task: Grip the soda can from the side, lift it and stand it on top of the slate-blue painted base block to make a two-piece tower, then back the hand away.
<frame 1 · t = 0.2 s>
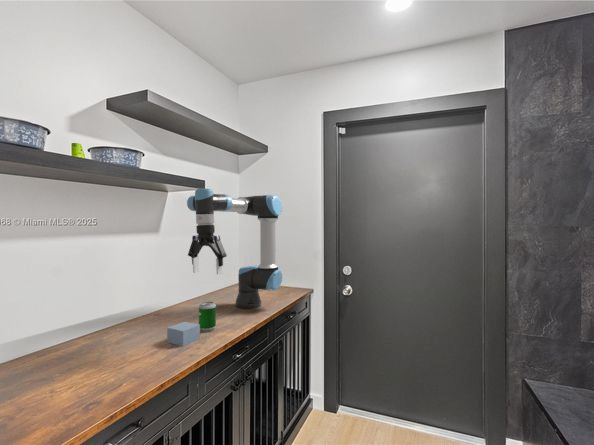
hand: (207, 273, 138), 27 cm above the worktop, tool pointing down, fingers open, 13 cm apart
soda can: (207, 329, 145), on the worktop
base block: (183, 340, 131), on the worktop
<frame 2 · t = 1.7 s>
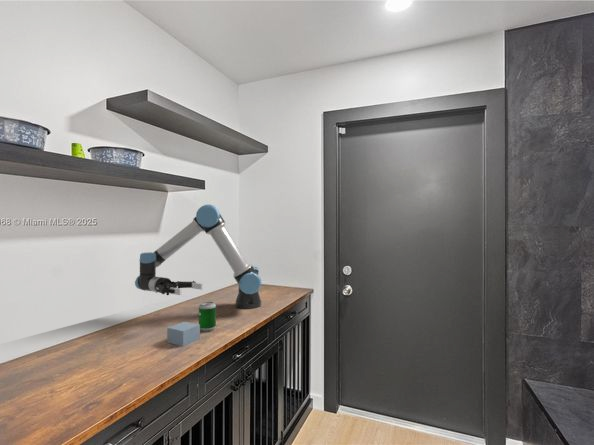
hand: (191, 289, 149), 18 cm above the worktop, tool horizontal, fingers open, 13 cm apart
nothing on the worktop moved.
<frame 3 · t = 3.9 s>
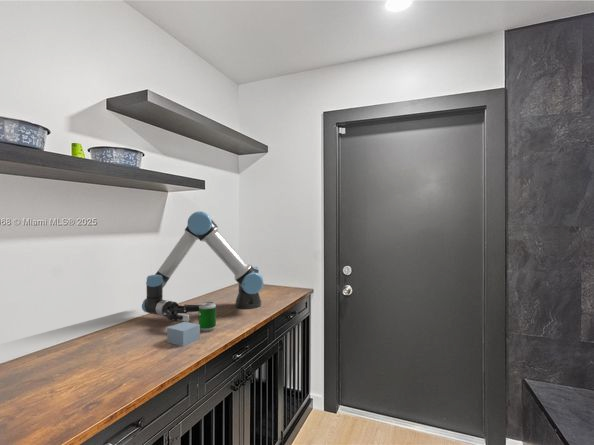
hand: (199, 314, 146), 6 cm above the worktop, tool horizontal, fingers open, 13 cm apart
nothing on the worktop moved.
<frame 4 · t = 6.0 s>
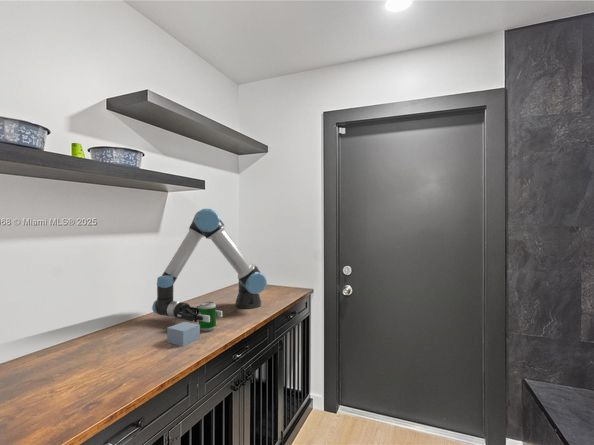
hand: (215, 316, 143), 7 cm above the worktop, tool horizontal, fingers closed on soda can, 7 cm apart
soda can: (207, 329, 145), on the worktop, touching gripper
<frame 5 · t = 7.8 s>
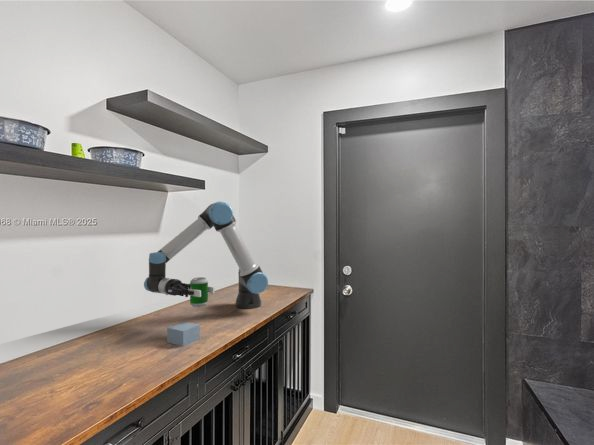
hand: (207, 291, 139), 19 cm above the worktop, tool horizontal, fingers closed on soda can, 7 cm apart
soda can: (199, 305, 141), point 12 cm above the worktop, touching gripper
when the fingers open (14 cm above the worktop, at t = 9.5 s): soda can drops 1 cm, resting on base block.
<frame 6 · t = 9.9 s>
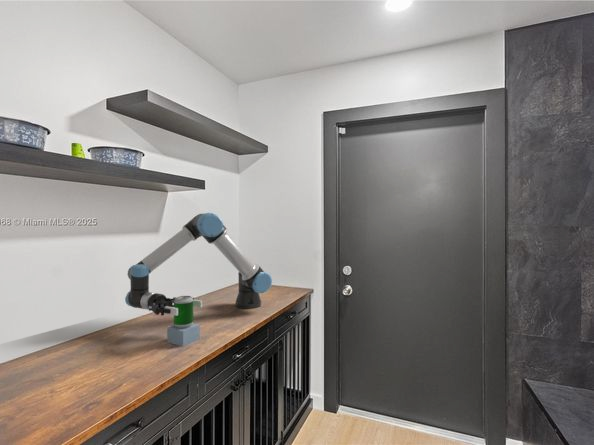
hand: (190, 308, 129), 14 cm above the worktop, tool horizontal, fingers open, 12 cm apart
soda can: (183, 326, 131), point 6 cm above the worktop, touching base block
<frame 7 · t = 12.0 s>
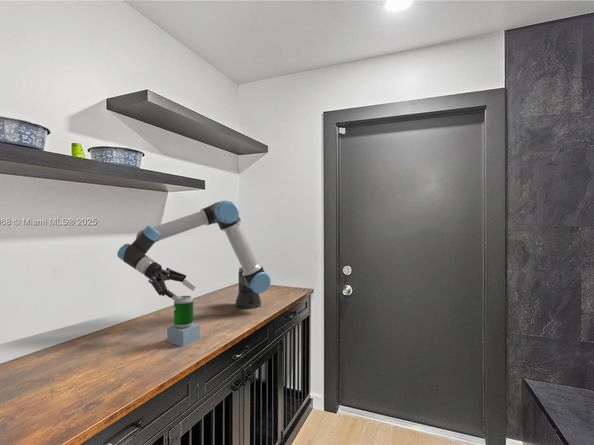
hand: (187, 294, 143), 17 cm above the worktop, tool tilted 55°, fingers open, 13 cm apart
nothing on the worktop moved.
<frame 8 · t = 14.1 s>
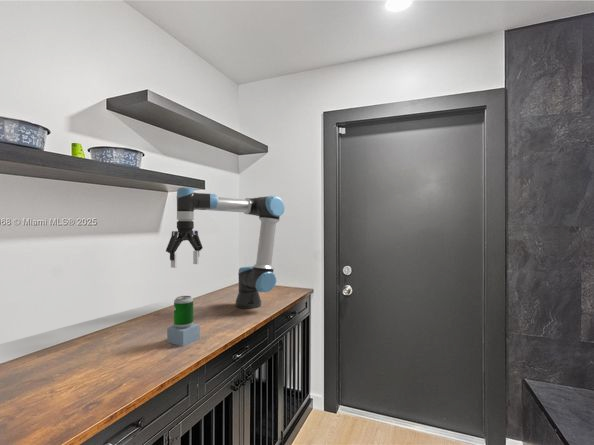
hand: (185, 265, 149), 29 cm above the worktop, tool pointing down, fingers open, 13 cm apart
nothing on the worktop moved.
at the end: soda can inside the target area on the base block (0.1 cm from its centre), point 5.8 cm above the base block's base; soda can tilted 0°; the gripper is holding nothing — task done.
